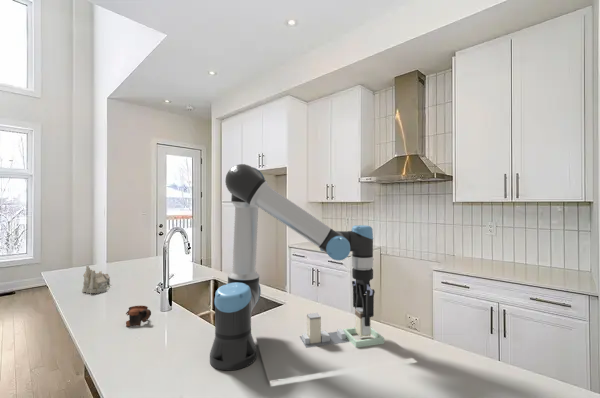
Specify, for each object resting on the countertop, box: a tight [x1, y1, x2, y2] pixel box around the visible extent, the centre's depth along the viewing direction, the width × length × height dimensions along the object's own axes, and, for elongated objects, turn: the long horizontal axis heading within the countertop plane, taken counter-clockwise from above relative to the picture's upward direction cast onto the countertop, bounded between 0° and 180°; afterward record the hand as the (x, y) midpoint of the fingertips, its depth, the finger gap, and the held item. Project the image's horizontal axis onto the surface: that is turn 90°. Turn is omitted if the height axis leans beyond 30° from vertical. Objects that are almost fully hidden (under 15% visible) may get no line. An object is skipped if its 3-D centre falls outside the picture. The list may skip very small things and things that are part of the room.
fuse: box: [306, 312, 322, 343], centre depth 112 cm, size 4×4×9 cm
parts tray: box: [342, 326, 385, 348], centre depth 113 cm, size 11×11×3 cm
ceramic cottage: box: [81, 265, 112, 294], centre depth 181 cm, size 16×16×15 cm
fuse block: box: [299, 328, 350, 349], centre depth 113 cm, size 16×9×3 cm, turn 105°
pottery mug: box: [125, 305, 152, 327], centre depth 132 cm, size 12×10×8 cm
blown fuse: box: [354, 307, 372, 338], centre depth 113 cm, size 4×4×9 cm
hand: (362, 331), depth 113 cm, fingers closed on blown fuse, 4 cm apart
